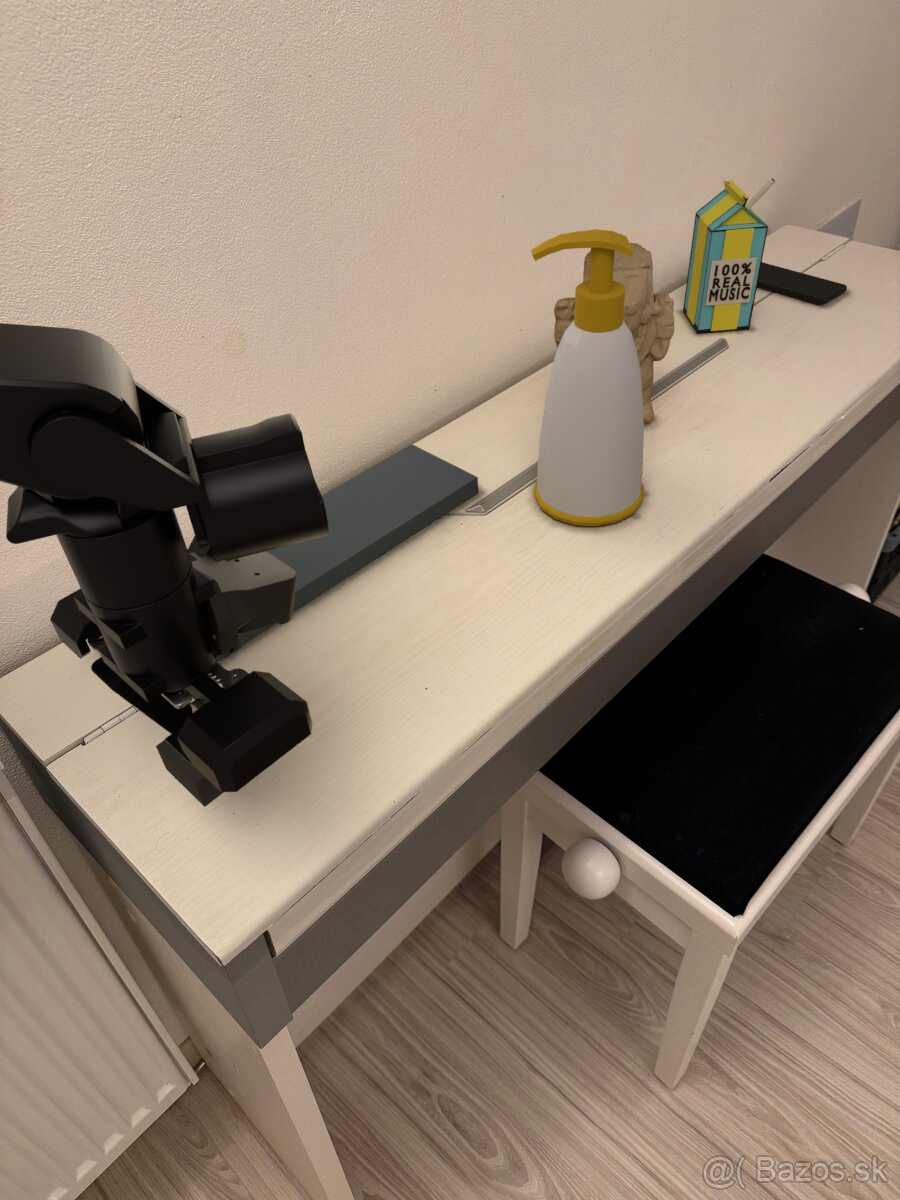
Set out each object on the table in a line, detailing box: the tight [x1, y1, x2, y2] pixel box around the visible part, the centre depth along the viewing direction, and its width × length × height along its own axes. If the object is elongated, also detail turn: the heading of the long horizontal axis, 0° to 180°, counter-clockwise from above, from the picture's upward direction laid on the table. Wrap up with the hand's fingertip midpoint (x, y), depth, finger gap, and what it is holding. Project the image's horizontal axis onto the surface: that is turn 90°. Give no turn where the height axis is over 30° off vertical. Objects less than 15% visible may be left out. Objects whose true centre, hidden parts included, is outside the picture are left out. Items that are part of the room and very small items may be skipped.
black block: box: [155, 739, 225, 808], centre depth 56 cm, size 4×4×2 cm
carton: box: [682, 177, 776, 335], centre depth 111 cm, size 7×8×18 cm
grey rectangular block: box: [215, 443, 479, 662], centre depth 83 cm, size 38×10×2 cm, turn 135°
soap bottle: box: [530, 228, 645, 527], centre depth 80 cm, size 11×12×26 cm
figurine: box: [553, 242, 675, 424], centre depth 92 cm, size 13×7×20 cm, turn 90°
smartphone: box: [757, 261, 848, 305], centre depth 123 cm, size 7×1×15 cm
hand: (208, 755), depth 56 cm, fingers closed on black block, 4 cm apart
